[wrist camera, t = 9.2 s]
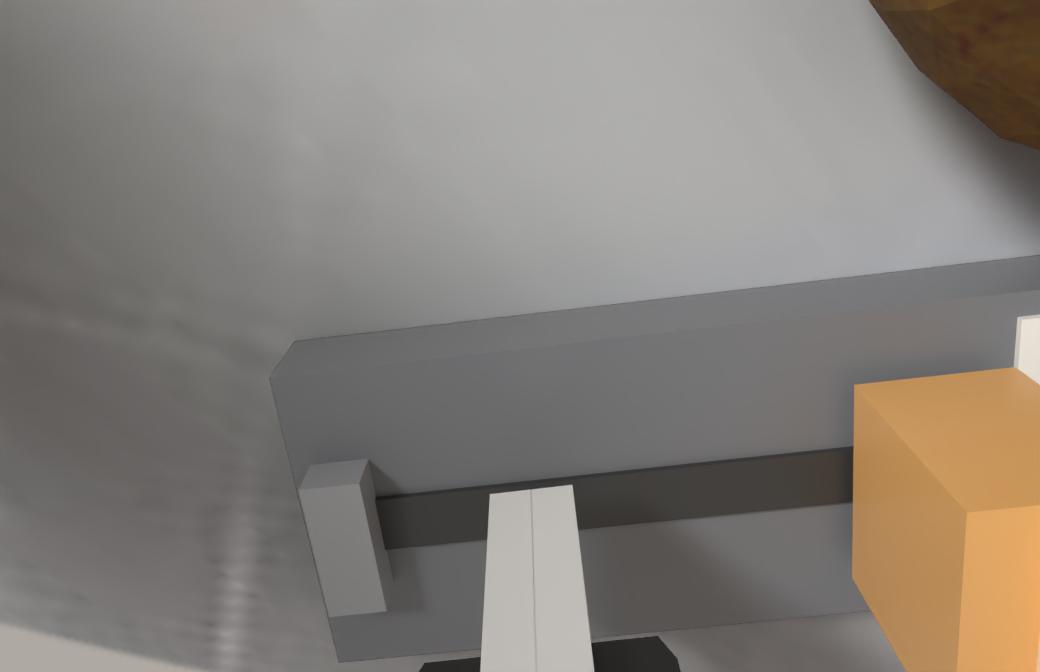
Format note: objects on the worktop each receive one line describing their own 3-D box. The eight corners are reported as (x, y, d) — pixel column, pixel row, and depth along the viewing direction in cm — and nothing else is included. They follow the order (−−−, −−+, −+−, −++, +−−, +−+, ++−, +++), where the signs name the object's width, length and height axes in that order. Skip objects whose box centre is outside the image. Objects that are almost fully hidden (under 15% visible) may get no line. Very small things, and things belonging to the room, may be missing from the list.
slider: (852, 577, 18) (976, 793, 13) (854, 384, 17) (995, 545, 12) (999, 562, 18) (1181, 774, 13) (1014, 367, 16) (1228, 521, 11)
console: (355, 605, 21) (329, 695, 19) (294, 341, 19) (254, 398, 16) (1193, 521, 20) (1299, 602, 18) (1241, 231, 18) (1374, 272, 15)
